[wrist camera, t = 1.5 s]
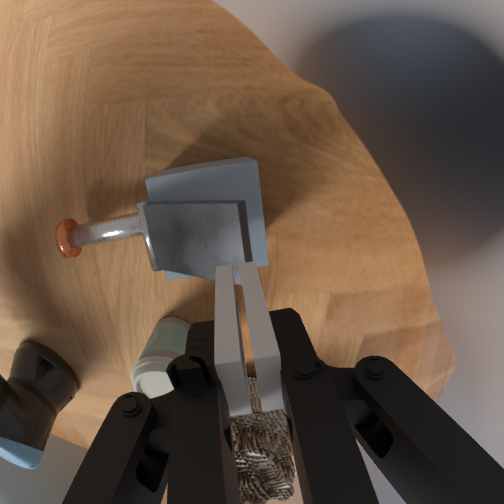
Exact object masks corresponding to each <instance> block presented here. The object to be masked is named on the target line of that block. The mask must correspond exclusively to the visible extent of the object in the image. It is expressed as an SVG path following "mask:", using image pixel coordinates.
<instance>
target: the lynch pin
mask: <svg viewBox="0 0 504 504" xmlns="http://www.w3.org/2000/svg"><path fill="white" fill-rule="evenodd" d="M137 236H143V233H142V228H141V224H140V220H139V215H138V212H136V213H131V214H127V215H122V216H117V217H112V218H108V219H103V220H98V221H94V222H90V223H85V224H81V225H78V223H77V222H76V221H75V220H74V219H71V218H70V219H66V220H62V221H60V222H59V223H58V225H57V227H56V232H55V239H56V245H57V248H58V250H59V252H60V253H61V255H62V256H63V257H65V258H72V257H77V256H78V255H79V254H80V253H81V250H82V247H84V246H89V245H94V244H99V243H105V242H110V241H115V240H121V239H126V238H132V237H137Z"/></svg>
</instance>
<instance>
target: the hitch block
mask: <svg viewBox="0 0 504 504" xmlns="http://www.w3.org/2000/svg"><path fill="white" fill-rule="evenodd" d="M145 183H146V188H147V194H148V199H149V202H161V201H192V200H245V203H246V211H247V219H248V227H249V235H250V243H251V251H252V258H253V261H255V264H256V268H258V267H265V266H269V262H268V252H267V243H266V233H265V224H264V215H263V205H262V196H261V188H260V179H259V170H258V161H257V160H255V159H253V158H251V157H249V156H245V157H237V158H230V159H223V160H216V161H210V162H203V163H197V164H192V165H186V166H180V167H175V168H170V169H165V170H162V171H160V172H158V173H156V174H155V175H153V176H151V177H149V178H147V179H145ZM165 272H166V276H167V280H175V279H182V278H190V277H195V276H190V275H185V274H180V273H175V272H170V271H165Z"/></svg>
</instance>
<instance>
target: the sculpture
mask: <svg viewBox="0 0 504 504" xmlns="http://www.w3.org/2000/svg"><path fill="white" fill-rule="evenodd" d="M247 379H248V386H249V394H250V401H251V409H252V414H246V415H238V416H230V414H229V422H230V425H231V428H232V433H233V443H234V452H235V460H236V469H237V477H238V485H239V493H240V500H241V504H266V501H268V499H270V500H271V499H278V500H280V501H287V499H291V498H292V497H293V493H294V489H293V486H292V484H293V481H294V478H295V475H294V472H296V471H295V467H294V463H293V461H292V458H291V455H293V453H292V450H291V449H292V445H291V441H290V436H289V431H288V432H287V423H286V411H285V407H284V409H278V410H273V411H267V412H262V406H261V400H260V394H259V388H258V382H257V378H256V379H255V377H254V378H251V377H249V378H247Z"/></svg>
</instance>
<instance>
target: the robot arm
mask: <svg viewBox="0 0 504 504" xmlns="http://www.w3.org/2000/svg"><path fill="white" fill-rule="evenodd" d="M239 267H240V274H241V281H242V287H243V294H244V301H245V307H246V314H247V320H248V327H249V333H250V339H251V346H252V352H253V358H254V364H255V370H256V376H257V382H258V388H259V394H260V400H261V406H262V412H267V411H273V410H278V409H284V407H285V411H286V423H287V432H288V431H289V436H290V441H291V445H292V450H293V455H294V460H295V465H296V469H297V474H298V479H299V484H300V488H301V493H302V498H303V503H304V504H379V502H378V499H377V496H376V494H375V490H374V488H373V485H372V482H371V480H370V477H369V474H368V471H367V468H366V466H365V463H364V460H363V458H362V455H361V452H360V450H359V447H358V444H357V442H356V439H357V441H358V442H359V443H360V445H361V446H362V447H363V449H364V450H365V451H366V452H367V454H368V455H369V456H370V458H371V459H372V460H373V462H374V463H375V464H376V465H377V467H378V468H379V469H380V471H381V472H382V473H383V475H384V476H385V477H386V478H387V480H388V481H389V482H390V483H391V485H392V486H393V487H394V489H395V490H396V491H397V492H398V494H399V495H400V496H401V497H402V499H403V500H404V501H405V502H406V503H407V504H504V469H503V468H502V467H501V466H500V465H499V464H498V463H497V462H496V461H495V460H494V459H493V458H492V457H491V456H490V455H489V454H488V453H487V452H486V451H485V450H484V449H483V448H482V447H481V446H480V445H479V444H478V443H477V442H476V441H475V440H474V439H473V438H472V437H471V436H470V435H469V434H468V433H467V432H466V431H464V429H462V428H461V427H460V426H459V425H458V424H457V423H456V422H455V421H454V420H453V419H452V418H451V417H450V416H449V415H448V414H447V413H446V412H445V411H444V410H442V408H441V407H439V406H438V405H437V404H436V403H435V402H434V401H433V400H432V399H431V398H430V397H429V396H428V395H427V394H426V393H425V392H424V391H423V390H422V389H421V388H419V387H418V386H417V385H416V384H415V383H414V382H413V381H412V380H411V379H410V378H409V377H408V376H407V375H406V374H405V373H403V372H402V371H401V370H400V369H399V368H398V367H397V366H396V365H395V364H394V363H393V362H392V361H390V360H388V359H387V358H385V357H381V356H369V357H365V358H363V359H361V360H360V361H359V362H357V364H356V366H355V368H336V367H331V366H328V365H326V364H325V363H324V362H323V361H322V360H320V359H319V358H318V357H317V355H316V353H315V350H314V348H313V346H312V343H311V341H310V338H309V336H308V334H307V331H306V329H305V327H304V324H303V322H302V320H301V317H300V315H299V314H298V313H297V312H296V311H295V310H293V309H292V308H286V309H280V310H274V311H268V308H267V304H266V301H265V297H264V294H263V290H262V286H261V283H260V279H259V275H258V272H257V268H256V264H255V261H252V262H246V263H239ZM186 341H187V342H186V347H185V348H186V350H185V354H184V355H180V356H179V357H177V358H175V359H173V360H172V361H171V362H170V363H169V364H168V366H167V369H166V372H167V375H168V377H169V379H170V381H171V384H172V386H173V388H174V389H173V390H172V391H170V392H169V393H166V394H164V395H161V396H158V397H154V398H151V399H149V398H148V397H147V396H146V395H145V394H143V393H140V392H129V393H126V394H123V395H122V396H120V397H119V398H118V399H117V400H116V401H115V402H114V404H113V405H112V407H111V409H110V411H109V413H108V414H107V416H106V418H105V420H104V422H103V424H102V426H101V427H100V429H99V431H98V433H97V435H96V437H95V439H94V441H93V442H92V444H91V446H90V448H89V450H88V452H87V454H86V456H85V458H84V460H83V462H82V464H81V466H80V468H79V470H78V472H77V474H76V476H75V478H74V480H73V482H72V484H71V486H70V488H69V490H68V492H67V494H66V496H65V499H64V501H63V503H62V504H161V501H162V498H163V495H164V492H165V489H166V485H167V483H168V488H167V489H168V491H167V504H241V500H240V493H239V485H238V477H237V469H236V460H235V452H234V443H233V433H232V428H231V425H230V422H229V414H230V416H238V415H246V414H252V409H251V401H250V394H249V386H248V379H247V371H246V363H245V355H244V347H243V339H242V330H241V322H240V314H239V307H238V301H237V295H236V289H235V283H234V277H233V271H232V265H225V266H218V267H216V278H215V320H213V321H205V322H197V323H193V325H192V326H191V327H190V329H189V330H188V332H187V339H186ZM77 389H78V383H77V379H76V377H75V375H74V373H73V372H72V370H71V369H70V367H69V366H68V365H67V364H66V363H65V362H64V361H63V360H62V359H61V358H60V357H59V356H58V355H57V354H55V353H54V352H53V351H51V350H50V349H48V348H46V347H44V346H42V345H40V344H38V343H34V342H24V343H22V344H21V345H20V346H19V347H18V349H17V350H16V352H15V354H14V359H13V363H12V367H11V372H10V376H9V378H8V380H7V381H6V380H5V379H4V378H3V377H2V375H1V374H0V456H1V457H3V458H4V459H6V460H8V461H10V462H12V463H14V464H16V465H18V466H21V467H23V468H27V469H34V468H36V467H37V466H38V464H39V462H40V460H41V457H42V455H43V454H44V449H45V446H46V443H47V440H48V438H49V435H50V432H51V430H52V427H53V424H54V422H55V419H56V417H57V414H58V413H59V412H60V411H61V410H62V409H63V408H64V407H65V406H66V405H67V404H68V403H69V402H70V401H71V400H72V399H73V398H74V396H75V394H76V391H77ZM355 438H356V439H355Z"/></svg>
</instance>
